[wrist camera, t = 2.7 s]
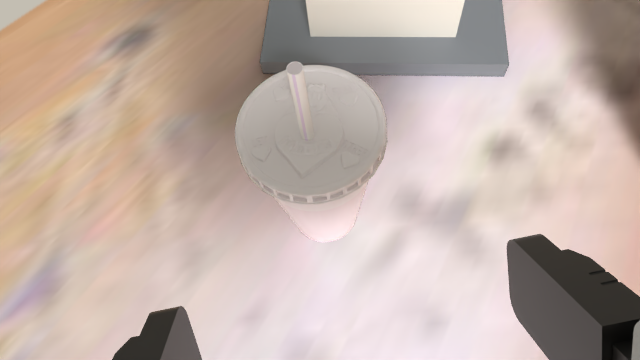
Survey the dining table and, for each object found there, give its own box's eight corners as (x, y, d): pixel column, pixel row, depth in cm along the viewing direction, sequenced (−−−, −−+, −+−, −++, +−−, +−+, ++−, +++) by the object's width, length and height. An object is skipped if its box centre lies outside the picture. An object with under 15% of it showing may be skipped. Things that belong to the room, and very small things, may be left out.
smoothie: (262, 258, 28) (180, 130, 15) (281, 159, 30) (224, -20, 18) (375, 271, 27) (387, 146, 14) (384, 168, 30) (400, -13, 17)
